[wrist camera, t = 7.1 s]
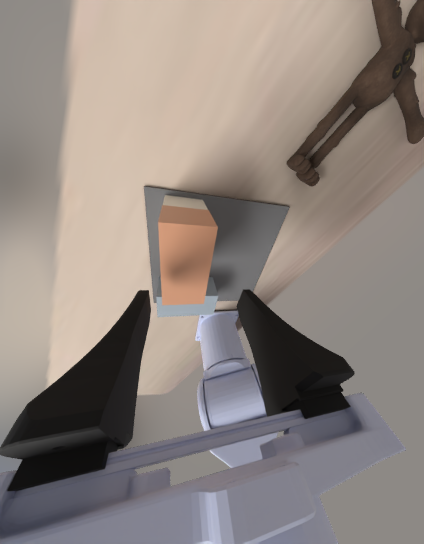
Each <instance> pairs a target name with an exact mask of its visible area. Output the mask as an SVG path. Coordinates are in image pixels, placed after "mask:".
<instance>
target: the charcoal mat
mask: <svg viewBox="0 0 424 544" xmlns="http://www.w3.org/2000/svg"><path fill="white" fill-rule="evenodd" d="M144 193H145V205H146V217H147V229H148V240H149V252H150V264H151V276H152V287H153V299H154V303H157V300H156V296H157V288H158V280H159V277H161V270H160V251H159V231H158V220H159V216H160V212H161V208H162V205H163V201H164V197H165V195H170V196H177V197H185V198H192V199H200V200H203V201H204V203H205V205H206V207H207V209H208V210H209V212H210V214H211V215H212V217H213V219H214V221H215V223H216V225H217V226H218V230H217V235H216V241H215V246H214V251H213V257H212V262H211V268H210V273H209V277H213V280H214V283H215V287H216V290H217V293H218V299H217V301H239V299H240V296H241V293H242V291H243V289H250V290H251V291H252V292H253V290H254V288H255V285H256V283H257V281H258V278H259V276H260V274H261V272H262V269H263V267H264V265H265V262H266V260H267V258H268V256H269V253H270V251H271V249H272V246H273V244H274V242H275V240H276V237H277V235H278V233H279V230H280V228H281V226H282V224H283V221H284V219H285V217H286V214H287V212H288V210H289V208H290V207H289V206H282V205H275V204H268V203H261V202H254V201H247V200H239V199H232V198H225V197H218V196H211V195H204V194H197V193H190V192H183V191H176V190H169V189H162V188H154V187H147V186H144Z"/></svg>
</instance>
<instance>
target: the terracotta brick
mask: <svg viewBox="0 0 424 544" xmlns="http://www.w3.org/2000/svg"><path fill="white" fill-rule="evenodd" d="M217 230H218V226H217V225H216V223H215V221H214V219H213V217H212V215H211V214H210V212H209V210H203V209H194V208H185V207H176V206H166V205H162V208H161V212H160V216H159V220H158V231H159V251H160V270H161V290H162V305H185V304H204V301H205V295H206V290H207V284H208V279H209V273H210V268H211V262H212V257H213V251H214V246H215V241H216V235H217Z"/></svg>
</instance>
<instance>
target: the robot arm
mask: <svg viewBox="0 0 424 544" xmlns="http://www.w3.org/2000/svg"><path fill="white" fill-rule="evenodd" d="M237 310H238V311H216V312H214V314H213V315H200V316H199V321H198V327H197V332H196V338H195V340H196V341H200V344H201V351H202V359H203V367H204V370H205V371H204V372H203V373H204V378H202V379H201V380H200V382H199V384H198V389H197V398H198V408H199V414H200V418H201V422H202V425H203V427H204V431H203V432H199V433H194V434H190V435H185V436H181V437H177V438H172V439H168V440H163V441H159V442H155V443H150V444H146V445H142V446H137V447H133V448H129V449H125V450H120V451H117V450H118V449H122V448H124V447H126V446H127V445H128V443H129V442H130V441H131V439H132V436H133V426H134V416H135V406H136V398H137V389H138V381H139V373H140V366H141V359H142V353H143V349H144V345H145V340H146V336H147V331H148V327H149V322H150V313H151V306H150V297H149V290H139V291H138V292H137V294H136V296H135V298H134V299H133V301H132V302H131V304H130V305H129V307H128V308H127V309H126V311H125V312H124V313H123V315H122V316H121V317H120V319H119V320H118V321H117V322H116V324H115V325H114V326H113V327H112V328H111V330H110V331H109V332H108V333H107V334H106V335H105V336H104V337H103V338H102V339H101V340H100V342H99V343H98V344H97V345H96V346H95V347H94V348H93V349H92V350H91V351H90V352H89V353H87V354H86V355H85V356H84V357H83V358H82V359H81V360H80V361H79V362H78V363H77V364H75V365H74V366H73V367H72V368H71V369H70V370H69V371H67V372H66V373H65V374H64V375H63V376H62V377H61V378H59V379H58V380H57V381H56V382H54V383H53V384H52V385H51V386H49V387H48V388H47V389H46V390H44V391H43V392H42V393H41V394H40V395H38V396H37V397H36V398H34V399H33V400H32V401H31V402H29V403H28V404H27V406H26V407H25V409H24V410H23V411H22V413H21V414H20V416H19V417H18V419H17V420H16V422H15V423H14V425H13V427H12V428H11V430H10V432H9V434H8V435H7V437H6V439H5V440H4V442H3V444H2V445H1V447H0V455H2V456H6V457H11V458H17V459H23V460H22V462H21V464H20V466H19V468H18V470H17V471H8V472H3V473H0V544H339V543H338V541H337V539H336V536H335V534H334V531H333V529H332V526H331V524H330V521H329V519H328V517H327V514H326V512H325V509H324V507H323V505H322V502H321V500H320V497H319V495H321V494H323V493H325V492H326V491H328V490H330V489H332V488H334V487H335V486H337V485H339V484H341V483H342V482H344V481H346V480H348V479H350V478H352V477H353V476H355V475H357V474H359V473H360V472H362V471H364V470H366V469H368V468H369V467H371V466H373V465H375V464H377V463H378V462H380V461H382V460H384V459H386V458H389V457H391V456H393V455H396V454H398V453H400V452H403V451H406V448H405V447H404V445H403V444H402V443H401V441H400V440H399V439H398V438H397V436H396V435H395V434H394V432H393V431H392V430H391V429H390V427H389V426H388V425H387V423H386V422H385V421H384V419H383V418H382V417H381V416H380V414H379V413H378V412H377V410H376V409H375V408H374V406H373V405H372V404H371V403H370V401H369V400H368V399H367V397H366V396H365V395H364V393H357V394H352V395H349V396H345V397H344V396H343V394H342V393H341V392H342V391H343V389H342V388H341V386H340V384H341V383H343V382H344V381H346V380H347V379H349V378H351V377H352V376H353V375H354V371H353V369H352V368H351V367H350V366H349V364H348V363H347V362H346V361H345V359H344V358H343V357H341V356H339V355H337V354H335V353H333V352H331V351H329V350H327V349H326V348H324V347H322V346H320V345H319V344H317V343H315V342H313V341H312V340H310V339H309V338H307V337H306V336H304V335H303V334H301V333H299V332H298V331H297V330H295V329H294V328H292V327H291V326H290V325H289V324H287V323H286V322H285V321H283V320H282V319H281V318H280V317H279V316H277V315H276V314H275V313H274V312H273V311H272V310H270V308H269V307H267V306H266V305H265V304H264V303H263V302H262V301H261V300H260V299H259V298H258V297H257V296H256V295H255V294H254V293H253V292H252V291H251V290H250V289H243V291H242V293H241V296H240V299H239V301H238V304H237ZM238 316H239V318H240V321H241V323H242V326H243V328H244V331H245V333H246V336H247V339H248V341H249V344H250V347H251V349H252V353H253V357H254V360H255V364H256V365H255V364H250V361H249V359H247V357H246V354H245V351H244V348H243V345H242V343H241V339H240V337H239V334H238V331H237V328H236V325H235V323H236V321H237V318H238ZM280 431H284V436H281V437H278V438H276V437H277V435H278V432H280ZM208 450H209V451H210V452H211V453H212V454H214V455H215V456H216V457H218V458H219V459H220V460H222V461H223V462H224V463H226V464H227V465H228V466H230V467H231V468H230V469H227V470H224V471H220V472H217V473H213V474H210V475H207V476H203V477H200V478H197V479H194V480H190V481H187V482H183V483H180V484H177V485H173V486H170V471H169V469H168V468H163V469H159V470H154V471H150V472H146V473H142V474H138V475H137V472H136V471H135V469H138V468H142V467H146V466H150V465H153V464H158V463H161V462H165V461H169V460H173V459H177V458H181V457H184V456H189V455H192V454H196V453H200V452H204V451H208Z"/></svg>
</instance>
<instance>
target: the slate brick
mask: <svg viewBox="0 0 424 544" xmlns="http://www.w3.org/2000/svg"><path fill="white" fill-rule="evenodd" d="M217 299H218V293H217V290H216V287H215V283H214V280H213V277H209V279H208V284H207V290H206V295H205V301H204V304H185V305H162V290H161V277H159V280H158V288H157V296H156V300H157V314H158V317H171V316H192V315H213V314H214V310H215V306H216V302H217Z"/></svg>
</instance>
